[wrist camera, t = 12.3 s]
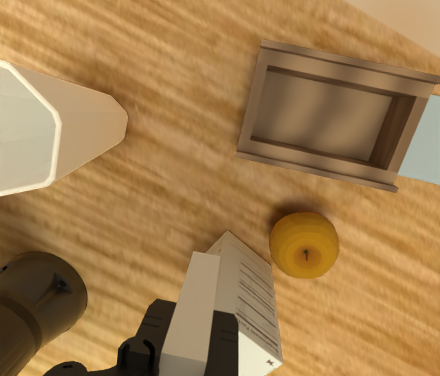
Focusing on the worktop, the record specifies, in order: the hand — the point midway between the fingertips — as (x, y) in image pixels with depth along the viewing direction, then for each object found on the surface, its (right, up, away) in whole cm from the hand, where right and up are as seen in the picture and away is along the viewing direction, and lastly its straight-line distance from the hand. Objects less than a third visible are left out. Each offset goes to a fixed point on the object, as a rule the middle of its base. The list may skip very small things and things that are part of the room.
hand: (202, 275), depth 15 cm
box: (+13, +14, +20) cm, 28 cm away
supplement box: (+3, -7, +28) cm, 29 cm away
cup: (-15, +14, +23) cm, 31 cm away
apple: (+12, -1, +25) cm, 28 cm away
